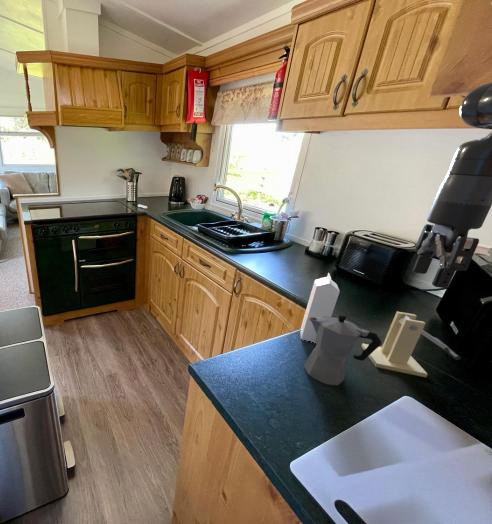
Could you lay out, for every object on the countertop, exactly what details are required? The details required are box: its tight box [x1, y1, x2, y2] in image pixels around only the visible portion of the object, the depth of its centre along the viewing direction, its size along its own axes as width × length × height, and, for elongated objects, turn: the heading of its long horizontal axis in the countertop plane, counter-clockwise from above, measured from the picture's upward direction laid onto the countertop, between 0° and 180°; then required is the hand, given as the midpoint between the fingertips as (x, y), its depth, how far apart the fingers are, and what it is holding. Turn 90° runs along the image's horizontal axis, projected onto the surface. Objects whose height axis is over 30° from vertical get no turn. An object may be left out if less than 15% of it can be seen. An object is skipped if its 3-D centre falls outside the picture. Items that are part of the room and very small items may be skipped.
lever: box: [399, 315, 461, 361], centre depth 80 cm, size 14×9×2 cm, turn 72°
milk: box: [299, 272, 341, 344], centre depth 90 cm, size 6×6×22 cm
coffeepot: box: [303, 313, 382, 386], centre depth 74 cm, size 15×9×18 cm, turn 58°
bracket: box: [361, 311, 429, 378], centre depth 82 cm, size 12×10×15 cm
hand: (428, 279), depth 60 cm, fingers open, 8 cm apart
